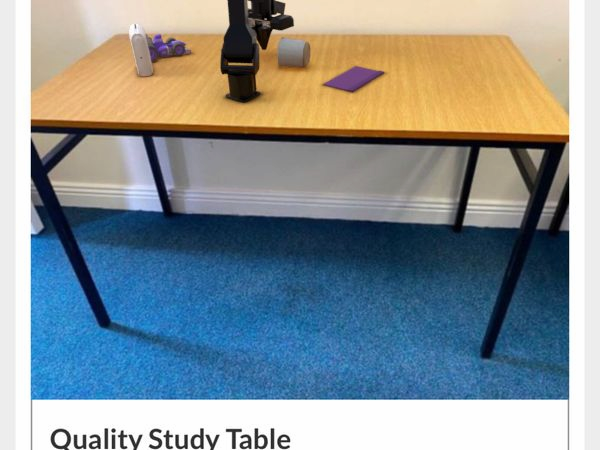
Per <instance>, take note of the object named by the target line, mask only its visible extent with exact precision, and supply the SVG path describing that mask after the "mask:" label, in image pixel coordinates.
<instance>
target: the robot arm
mask: <svg viewBox="0 0 600 450" xmlns="http://www.w3.org/2000/svg"><path fill="white" fill-rule="evenodd" d="M226 1H227V11H228V13H227V14H228V27H227V29H226V31H225V33H224V36H223V43H222V46H221V49H220V61H219V62H220V65H219V66H220V67H219V68H220V73H221V75H227V81H228V90H229V93H226V94H225V98H226V99H227V98H228V99H231V100H234V101H237V102H239V103H246V102H249V101H250V100H253V99H255V98H257V97H258V96H260V95H262V93H261V91H258V90H257V89H258V87H257V79H256V76H257V74H258V72H259V71H260V48H261V50H263V51H266V50H267V49H268V45H269V42H270V38H271V35H272V33H273V30H275V31H281V32H282V31H285V30H288V29H291V28H293V27H294V26H295V20H294V17H293V16H292V15H289V14H285V11H286V2H283V1H279V0H226ZM249 2H250V8H249V5H248V3H249ZM243 64H244V65H243ZM247 64H248V65H247ZM249 64H251V65H249Z"/></svg>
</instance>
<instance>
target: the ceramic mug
mask: <svg viewBox="0 0 600 450" xmlns="http://www.w3.org/2000/svg"><path fill="white" fill-rule="evenodd" d="M276 57H277V58H276V59H277V60H276V61H277V64H278V66H279V67H283V68H284V67H285V68H296V69H302V68H303V69H304V68H306V67H308V66H309V63H310V59H311V44H310V42H309V41H307V40H304V39H296V38H289V37H284V36H283V37H280V38H279V41H278V44H277V51H276Z"/></svg>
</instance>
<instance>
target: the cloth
mask: <svg viewBox="0 0 600 450" xmlns="http://www.w3.org/2000/svg"><path fill="white" fill-rule="evenodd" d="M384 74H385V71H384V70H376V69H370V68H366V67H362V66H358V65H355V66H353V67H352V68H350V69H348V70H346V71H344V72H342V73H341V74H339V75H337V76H334V77H333V78H332V79H330V80H328V81H326V82H324V83H323V84H322V85H323V86H326V87H329V88H333V89H336V90H340V91H345V92H349V93H351V94H352V93H355V92H356V91H358V90H360V89H361V88H362V87H365V86H366V85H368V84H369V83H370V82H372V81H374V80H376V79H377V78H379V77H381V76H382V75H384Z"/></svg>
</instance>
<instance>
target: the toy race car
mask: <svg viewBox="0 0 600 450" xmlns="http://www.w3.org/2000/svg"><path fill="white" fill-rule="evenodd" d="M145 35H146V39H147V44H148V48H149V52H150V57H151V62H152V64H153V63H155V62H157V61H158V59H160V58H169V57H174V56H177V57H182V56H184V54H185V55H188V54H192V50H191V49H189V48H187V47H186V46H187V43H186V42H183V41H182V40H177V39H176V38H174V37H169V38H167V39H166V41H165V42H164V41H163V40H164V39H163V38H162V34H161V33H157V34H155V35H154V36H153V38H152V37H150V36H148V34H147V33H145Z"/></svg>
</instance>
